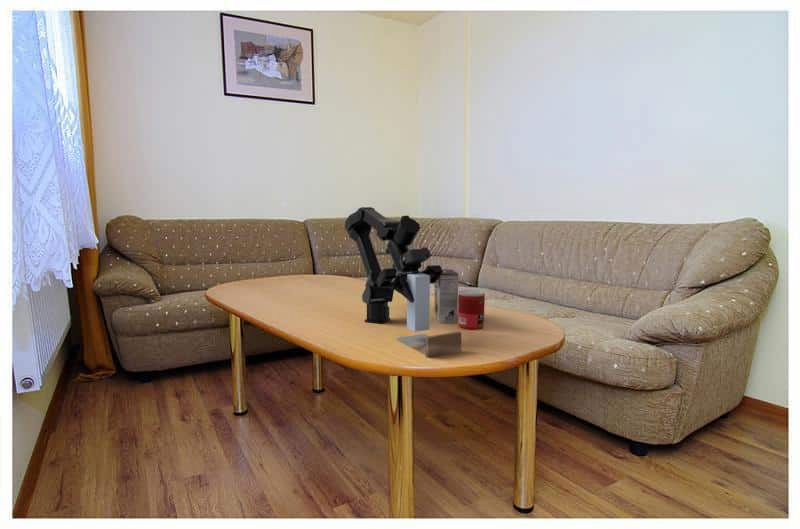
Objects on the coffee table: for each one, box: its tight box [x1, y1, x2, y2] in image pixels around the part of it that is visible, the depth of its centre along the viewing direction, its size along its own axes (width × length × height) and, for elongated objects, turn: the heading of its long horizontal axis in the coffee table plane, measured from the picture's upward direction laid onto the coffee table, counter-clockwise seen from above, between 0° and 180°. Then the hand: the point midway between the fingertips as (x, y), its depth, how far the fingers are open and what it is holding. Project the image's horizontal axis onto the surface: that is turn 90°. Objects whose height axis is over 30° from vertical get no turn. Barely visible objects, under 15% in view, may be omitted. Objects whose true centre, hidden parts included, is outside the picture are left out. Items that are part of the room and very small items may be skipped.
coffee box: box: [434, 268, 459, 324], centre depth 153 cm, size 9×6×16 cm
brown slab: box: [411, 331, 462, 358], centre depth 122 cm, size 9×10×5 cm
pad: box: [396, 333, 429, 348], centre depth 130 cm, size 9×9×1 cm
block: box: [406, 273, 431, 333], centre depth 128 cm, size 4×4×15 cm
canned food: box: [457, 289, 486, 331], centre depth 144 cm, size 8×8×11 cm
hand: (420, 300), depth 127 cm, fingers closed on block, 4 cm apart
